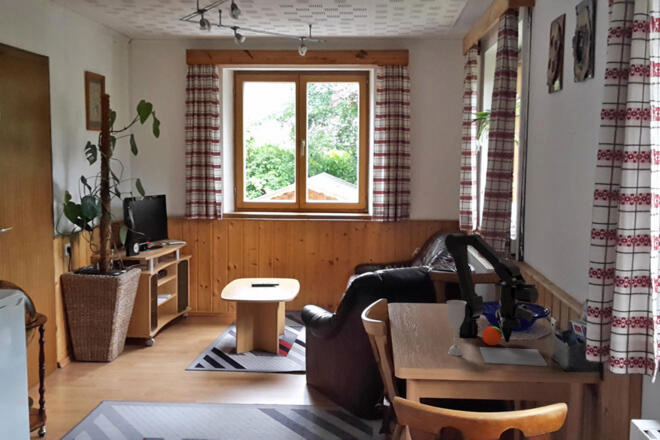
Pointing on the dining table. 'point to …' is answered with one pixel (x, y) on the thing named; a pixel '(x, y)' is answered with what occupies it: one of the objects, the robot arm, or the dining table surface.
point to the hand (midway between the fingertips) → (507, 341)
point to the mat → (512, 356)
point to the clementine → (492, 335)
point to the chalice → (456, 322)
